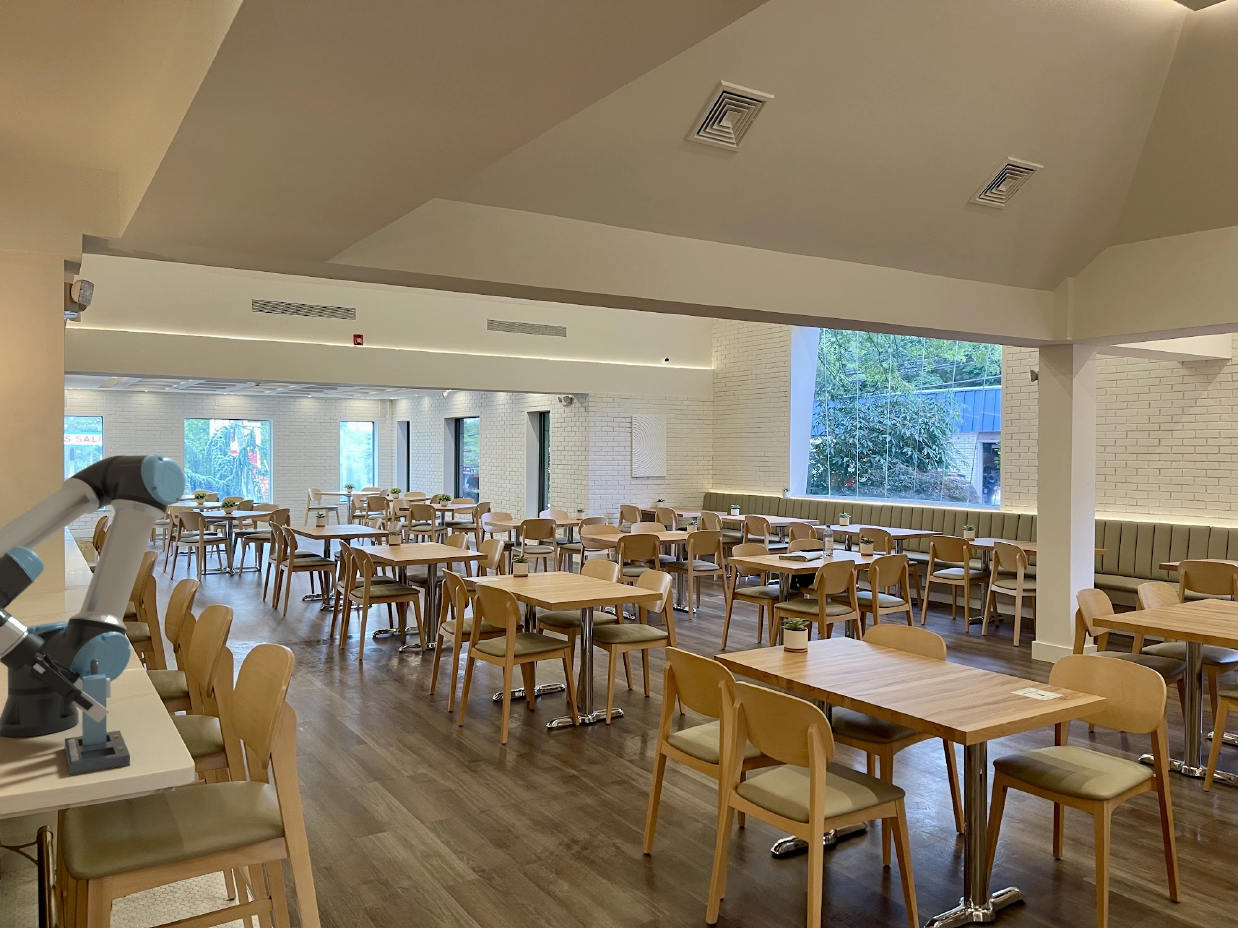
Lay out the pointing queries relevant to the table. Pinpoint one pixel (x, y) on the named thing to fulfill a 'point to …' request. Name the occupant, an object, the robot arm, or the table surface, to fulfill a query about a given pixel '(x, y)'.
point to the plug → (99, 691)
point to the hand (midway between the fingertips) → (101, 709)
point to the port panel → (96, 754)
